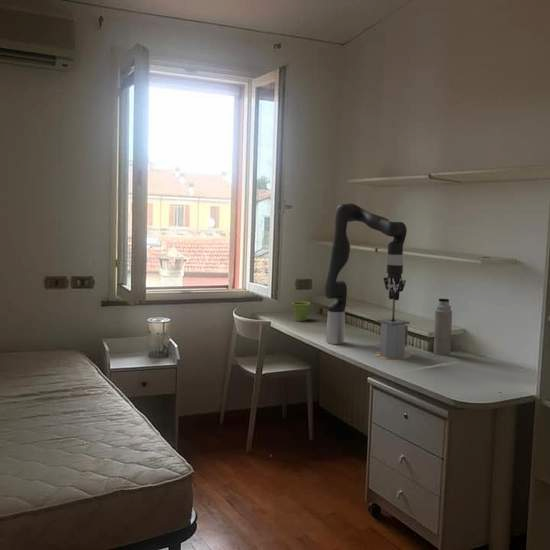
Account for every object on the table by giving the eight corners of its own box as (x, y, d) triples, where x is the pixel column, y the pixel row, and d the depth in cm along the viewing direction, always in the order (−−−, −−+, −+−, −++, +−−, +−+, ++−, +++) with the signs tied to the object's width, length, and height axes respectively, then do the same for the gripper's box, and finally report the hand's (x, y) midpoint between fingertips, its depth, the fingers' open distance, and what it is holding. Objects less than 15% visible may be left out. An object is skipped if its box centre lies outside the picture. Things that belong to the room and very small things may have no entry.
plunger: (380, 329, 300) (381, 289, 298) (393, 327, 304) (395, 288, 302) (392, 332, 293) (393, 291, 291) (405, 330, 297) (406, 290, 295)
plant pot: (292, 318, 404) (292, 301, 403) (310, 319, 402) (310, 301, 401) (290, 321, 392) (290, 304, 391) (309, 322, 391) (309, 304, 389)
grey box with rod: (375, 354, 302) (376, 319, 300) (398, 351, 309) (399, 317, 307) (390, 359, 292) (392, 323, 290) (413, 355, 299) (415, 321, 297)
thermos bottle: (449, 353, 309) (451, 298, 306) (450, 357, 301) (453, 300, 298) (433, 352, 310) (435, 297, 307) (434, 356, 302) (436, 299, 299)
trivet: (365, 355, 303) (365, 353, 303) (394, 351, 312) (394, 349, 312) (390, 363, 288) (390, 361, 288) (419, 359, 297) (419, 357, 296)
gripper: (379, 262, 299) (378, 298, 301) (398, 265, 287) (397, 302, 289) (391, 262, 303) (390, 297, 305) (411, 264, 291) (409, 301, 293)
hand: (393, 299), depth 297 cm, fingers closed on plunger, 3 cm apart
